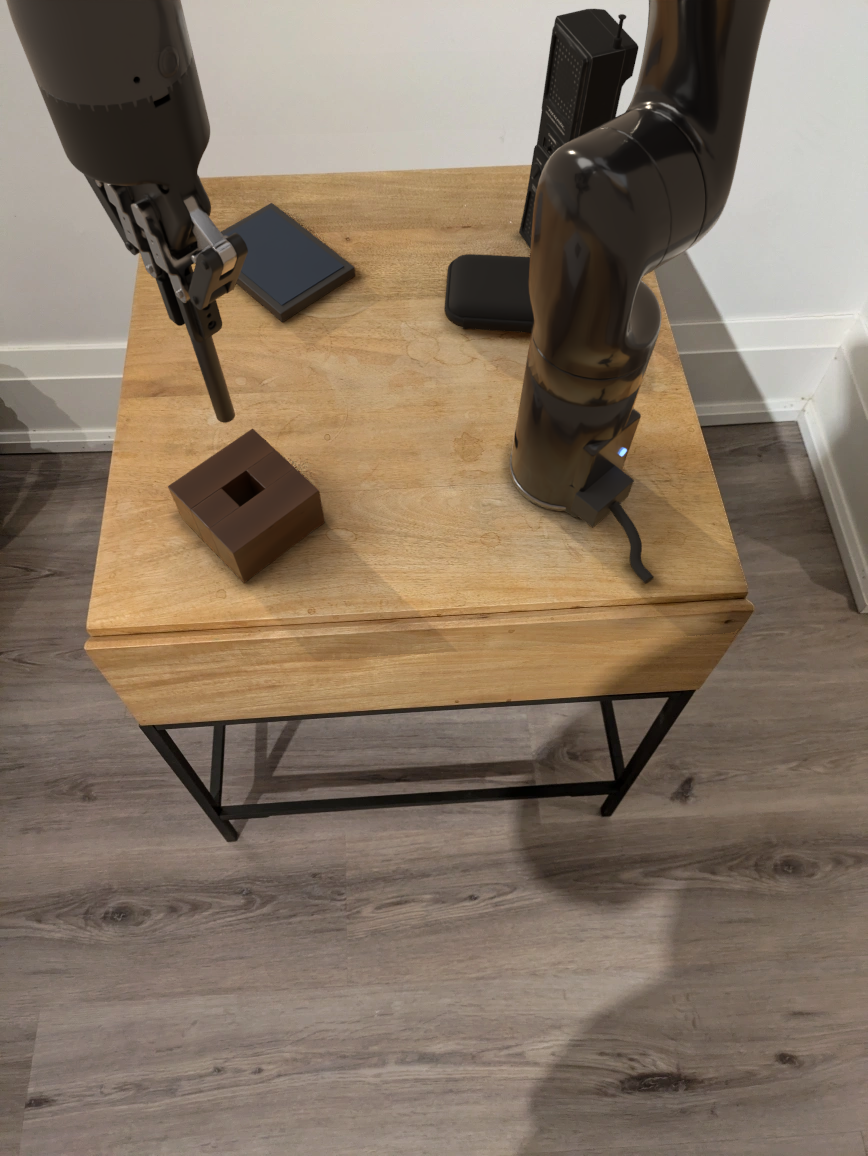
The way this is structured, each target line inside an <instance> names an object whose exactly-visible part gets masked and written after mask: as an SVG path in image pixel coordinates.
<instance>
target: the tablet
mask: <svg viewBox="0 0 868 1156" xmlns="http://www.w3.org/2000/svg"><path fill="white" fill-rule="evenodd" d="M220 232H221V233H222V235H223V236H225V235H226V236H230V235H232V234H233V233H237V234H239V235H240V236H241V237H242V238H243V240H244V242H245V243H246V246H247V249H248V253H247V256H246V258H245V261H244V264H243V266H242V269H241V272H240V274H239V277H238V280H237V282H236V284H237V285H238V286H239V287H240V288H241V289H242V290H244V291H245V292H246V293H247V294H248V295H249V296H251V297H252V298H253V299H254V300H255V301H256V302H258V303H259V304H260V305H261V306H262V307H263V308H265V309H266V310H267V311H269V313H271V314H272V315H273V316H274V317H276V318H277V319H278V320H279V321H280V322H281V323H283V322H285V321H287V320H288V319H290V318H291V317H293V316H295V315H296V314H298V313H299V312H301V311H303V310H304V309H306V308H307V307H309V306H310V305H312V304H314V303H315V302H316V301H318V300H320V299H321V298H323V297H324V296H326V295H328V294H329V293H331V292H332V291H334V290H336V289H337V288H338V287H341V286H342V285H343V284H345V283H346V282H348V281H350V280H351V279H353V278H354V277H355V276H356V268H355V266H354V265H352V264H351V263H350V262H349V261H348V260H346V259H345V258H344V257H343V256H341V254H339V253H338V252H336V251H335V250H333V249H332V248H331V247H329V246H328V245H327V244H325V242H323V241H322V240H321V239H319V238H318V237H317V236H315V235H314V234H313V233H311V231H309V230H308V229H306V228H305V227H303V225H302V224H300V223H299V222H297V221H296V220H295V219H293V218H292V217H291V216H289V214H287V213H286V212H285V211H283V210H282V209H281V208H279V207H278V206H277V205H276V204H275V203H273V202H270V203H268V204H266V205H265V206H263V207H262V208H259V209H258V210H256V211H255V212H253V213H251V214H249V215H247V216H246V217H243V218H242V219H241V220H238V221H237V222H235V223H233V224H231V225H230V226H228V227H226V228H225V229H223V230H221V231H220Z"/></svg>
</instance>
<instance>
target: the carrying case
mask: <svg viewBox="0 0 868 1156" xmlns="http://www.w3.org/2000/svg"><path fill="white" fill-rule="evenodd" d="M529 262H530V256H517V255H497V254H495V255H494V254H476V253H475V254H473V253H470V254H469V253H467V254H461V255H459V256H457V257H456V258H455V259H453V260H452V261H451V262H450V263H449V264H448V266H447V271H446V273H447V274H446V284H445V285H446V286H445V297H444V308H443V309H444V315H445V316H446V318H447V319H448V321H449V322H450V323H452V324H454V325H455V326H457V327H459V328H462V329H463V330H478V331H492V332H493V331H494V332H506V333H507V332H508V333H526V334H531V331H532V323H533V312H532V307H531V303H530V297H529V290H528V274H529Z"/></svg>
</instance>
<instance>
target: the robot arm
mask: <svg viewBox="0 0 868 1156" xmlns="http://www.w3.org/2000/svg"><path fill="white" fill-rule="evenodd" d="M5 1H6V6H7V8H8V13H9V15H10V18H11V21H12V24H13V27H14V30H15V32H16V34H17V37H18V39H19V42H20V44H21V47H22V49H23V52H24V55H25V57H26V59H27V63H28V64H29V67H30V69H31V72H32V74H33V77H34V79H35V82H36V84H37V87H38V89H39V91H40V94H41V97H42V99H43V101H44V104H45V106H46V109H47V111H48V114H49V116H50V119H51V121H52V124H53V126H54V129H55V131H56V134H57V136H58V139H59V141H60V143H61V146H62V149H63V152H64V153H65V155H66V157H67V159H68V160H69V162H70V164H71V165H72V166H73V167H74V168H75V169H76V170H77V171H78V172H80V173H81V174H82V175H83V176H84V177H85V179H86V181H87V183H88V184H89V187H90V188H91V189H92V192H93V193H94V195H95V196H96V198H97V199H98V201H99V203H100V204H101V206H102V208H103V210H104V212H105V213H106V215H107V217H108V219H109V220H110V221H111V224H112V225H113V227H114V228H115V230H116V232H117V233H118V235H119V237H120V239H121V241H122V242H123V244H124V246H125V248H126V250H127V251H128V252H129V253H131V255H133V256H137V255H138V254H140V257H141V259H142V263H143V265H144V268H145V270H146V272H147V273H148V274H149V275H150V277H152V278H153V279H155V282H156V285H157V288H158V290H159V293H160V295H161V298H162V301H163V304H164V307H165V310H166V312H167V316H168V319H169V320H170V321H172V322H173V323H174V324H175V325H176V326H178V327H180V326H185V328H186V331H187V334H188V336H189V338H190V337H192V338H193V339H194V340H195V341H196V342H202V341H204V340H206V339H207V338H209V337H210V336H212V337H213V336H214V335H215V334H217V333H218V332H219V331H220V330H221V329H222V328H223V320H222V316H221V313H220V310H219V305H218V302H217V299H219V298H221V297H222V296H224V295H226V294H229V293H230V292H232V291H234V290H235V287H236V284H237V283H236V282H237V280H238V277H239V274H240V272H241V269H242V266H243V264H244V261H245V258H246V256H247V253H248V249H247V246H246V243H245V242H244V240H243V238H242V237H241V236H240V235H239V234H237V233H233V234H232V235H230V236H226V235H225V236H223V235H222V233H221V231H220V229H219V228H218V226H216V224H215V222H213V219H211V217H210V216H211V213H212V204H211V200H210V197H209V195H208V192H207V191H206V189H205V187H204V185H203V183H202V181H201V178H200V176H199V174H198V170H199V166H200V163H201V160H202V158H203V156H204V154H205V152H206V149H207V147H208V145H209V142H210V137H211V124H210V119H209V115H208V111H207V107H206V102H205V98H204V94H203V90H202V85H201V82H200V77H199V72H198V68H197V64H196V59H195V55H194V52H193V46H192V43H191V39H190V34H189V30H188V25H187V21H186V17H185V13H184V9H183V4H182V0H5ZM771 1H772V0H648V17H647V28H646V35H645V42H644V48H643V53H642V59H641V65H640V69H639V73H638V78H637V82H636V85H635V89H634V92H633V95H632V99H631V101H630V103H629V104H628V107H627V108H626V110H625V112H623V113H621V114H619V115H616V117H615V118H613V119H611V120H609V121H608V122H606V123H604V124H602V125H600V126H598V127H596V128H594V129H592V130H590V131H588V132H586V133H585V134H583V135H581V136H579V137H577V138H575V139H573V140H571V141H569V142H567V143H566V144H564V145H562V146H561V147H560V148H558V149H557V150H556V151H555V152H554V153H553V154H552V155H551V156H550V158H549V159H548V161H547V163H546V164H545V167H544V169H543V171H542V173H541V176H540V179H539V183H538V187H537V191H536V196H535V202H534V212H533V223H532V237H531V249H529V250H530V251H529V257H530V262H529V274H528V290H529V297H530V303H531V307H532V312H533V323H532V331H531V333H530V337H529V338H530V339H529V344H528V350H527V355H526V362H525V369H524V373H523V374H524V375H523V381H522V388H521V392H520V393H521V394H520V400H519V406H518V412H517V418H515V419H514V420H515V421H516V422H515V424H514V426H513V431H514V434H513V435H512V436H513V437H512V441H513V442H512V447H511V452H510V455H509V456H510V457H509V463H508V467H509V468H508V470H509V475H510V478H511V481H512V483H513V485H514V486H515V488H516V489H517V491H518V492H519V493H520V494H521V496H523V497H524V498H525V499H526V500H527V501H529V502H531V503H533V504H534V505H536V506H538V507H541V508H544V509H547V510H550V511H557V512H565V513H567V514H569V515H570V516H571V517H572V518H577V517H578V518H580V519H581V520H582V521H583V522H584V523H586V524H587V525H588V527H590V528H592V529H593V528H594V527H596V526H598V524H599V523H600V522H601V521H602V520H604V519H605V518H606V517H607V516H608V515H609V514H612V515H613V517H614V518H615V519H616V521H617V522H618V523H619V525H620V526H621V528H622V529H623V531H624V532H625V534H626V537H627V539H628V542H629V547H630V548H629V563H630V566H631V568H632V570H633V572H634V573H635V575H636V576H637V577H638V578H639V579H640V580H641V581H642V582H643V583H644V585H645V584H648V583H650V582H651V581H652V580H653V579H654V578H655V577H654V575H653V574H652V573H651V571H649V570H648V568H646V567H645V565H644V564H643V561H642V549H643V544H642V539H641V536H640V534H639V532H638V529H637V527H636V526H635V523H634V522H633V520H632V519H631V517H630V516H629V515H628V513H627V512H626V511H625V509H624V508H623V506H622V503H623V502H624V501H625V500H626V499H627V498H629V495H630V493H631V490H632V487H633V484H634V482H635V479H633V477H632V476H630V475H629V474H627V473H626V472H625V471H623V468H624V466H625V463H626V460H627V458H628V454H629V452H630V449H631V446H632V443H633V440H634V437H635V435H636V432H637V429H638V426H639V423H640V421H641V418H642V414H641V412H639V411H638V410H637V409H635V405H636V402H637V398H638V395H639V393H640V389H641V387H642V384H643V381H644V378H645V375H646V374H647V373H646V372H647V369H648V366H649V363H650V360H651V357H652V356H653V355H652V354H653V352H654V350H655V347H656V344H657V341H658V338H659V335H660V332H661V326H662V309H661V306H660V302H659V299H658V298H657V296H656V294H655V292H654V291H653V290H652V289H651V288H650V286H648V284H646V283H645V282H644V281H643V280H642V279H643V277H644V276H646V275H648V274H650V273H651V272H653V271H654V270H657V269H658V268H659V267H661V266H663V265H665V264H666V263H668V262H670V261H671V260H674V259H675V258H676V257H678V256H680V255H681V254H683V253H684V252H686V251H688V250H690V249H691V248H692V247H694V246H696V244H697V243H699V242H700V241H702V239H704V237H706V236H707V234H708V233H709V232H710V231H711V230H712V229H713V228H714V227H715V226H716V224H717V223H718V221H719V219H720V217H721V216H722V215H723V212H724V209H725V208H726V205H727V202H728V199H729V196H730V193H731V190H732V186H733V182H734V180H735V179H734V178H735V174H736V169H737V165H738V160H739V154H740V149H741V143H742V137H743V132H744V127H745V122H746V116H747V110H748V105H749V100H750V94H751V88H752V84H753V83H752V82H753V78H754V72H755V68H756V66H755V65H756V62H757V58H758V52H759V48H760V43H761V39H762V33H763V30H764V26H765V22H766V19H767V15H768V11H769V8H770V5H771ZM194 264H195V265H194ZM190 265H192V266H193V265H194V269H193V272H192V273H190V274H189V275H187V276H185V269H186V268H187V267H189V266H190ZM168 274H169V275H168ZM169 277H170V278H169ZM170 280H171V281H170ZM171 283H172V284H171ZM172 286H173V287H172Z"/></svg>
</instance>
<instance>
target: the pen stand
mask: <svg viewBox="0 0 868 1156" xmlns="http://www.w3.org/2000/svg"><path fill="white" fill-rule="evenodd" d="M167 489H168V490H169V493H170V495H171V497H172V500H173V502H174V504H175V506H176V508H177V510H178V512H179V515H180V518H181V519H182V520H183V522H184V523H186V524H187V526H189V528H190V529H192V531H193V532H194V533H195V534H196V535H197V536H198V537H199V538H200V539H201V540H202V541H203V542H204V543H205V544H206V545H207V546H208V547H209V548H210V549H211V550H212V551H213V552H214V554H215V555H216V556H218V558H219V559H221V560H222V562H223V563H224V564H225V565H226V566H227V568H229V569H230V570H231V571H232V572H233V573H234V574H235V576H237V577H238V579H240V581H241V582H243V583H244V584H245V583H246V582H247V581H250V579H252V578H253V577H254V576H256V575H258V573H260V572H261V571H262V570H264V569H265V568H266V567H268V566H269V565H270V564H272V563H273V562H274V561H276V560H277V559H278V558H279V557H281V556H282V555H283V554H285V553H286V552H288V551H289V550H290V549H291V548H293V547H294V546H296V545H297V544H298V543H299V542H301V541H302V540H303V539H305V538H306V537H308V536H309V535H310V534H311V533H313V532H314V531H315V530H316V529H318V528H319V527H320V526H322V525H323V524H325V523H326V522H325V516H324V510H323V505H322V499H321V493H320V490H319V489H318V488H317V486H315V485H314V484H313V483H312V481H310V480H309V479H307V477H305V475H303V473H301V472H300V471H299V470H298V469H297V468H296V467H295V466H294V465H293V464H292V463H290V461H288V460H287V459H286V458H285V457H284V456H283V455H282V454H281V453H280V452H279V451H278V450H277V449H275V447H273V446H272V445H271V444H270V443H269V441H267V440H266V439H265V438H263V436H262V435H260V434H259V432H257V431H256V430H255V429H254V428H251V429H250V430H248V431H247V432H245V433H244V434H242V435H241V436H239V437H238V438H236V439H234V440H233V441H232V442H230V443H229V444H228V445H226V446H224V447H223V448H221V449H220V450H219V451H217V452H215V453H214V454H213V455H212V456H209V457H208V458H207V459H205V460H204V461H202V462H201V463H200V464H198V465H197V466H195V467H193V468H192V469H190V470H189V471H188V472H186V473H185V474H184V475H182V476H180V477H179V478H178V479H176V480H174V481H173V482H172V483H170V484H168V485H167Z"/></svg>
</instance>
